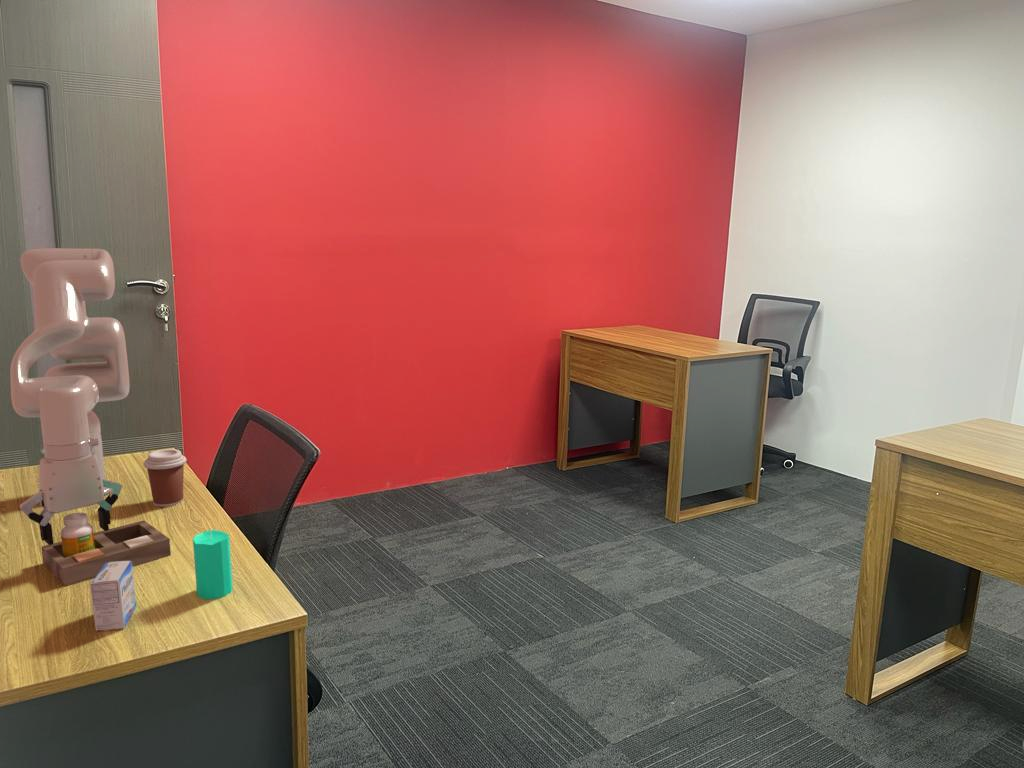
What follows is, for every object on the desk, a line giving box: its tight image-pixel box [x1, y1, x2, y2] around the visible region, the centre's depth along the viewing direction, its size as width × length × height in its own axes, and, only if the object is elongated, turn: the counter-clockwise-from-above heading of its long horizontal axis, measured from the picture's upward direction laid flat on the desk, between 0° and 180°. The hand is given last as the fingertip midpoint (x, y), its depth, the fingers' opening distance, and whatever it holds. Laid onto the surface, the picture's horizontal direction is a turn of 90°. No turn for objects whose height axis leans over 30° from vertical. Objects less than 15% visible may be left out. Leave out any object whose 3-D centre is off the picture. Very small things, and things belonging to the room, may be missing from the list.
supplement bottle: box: [60, 512, 95, 558], centre depth 147 cm, size 5×5×10 cm
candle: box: [192, 528, 234, 600], centre depth 137 cm, size 6×6×12 cm
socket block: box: [41, 520, 172, 587], centre depth 149 cm, size 13×19×4 cm
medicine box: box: [89, 561, 137, 632], centre depth 127 cm, size 8×4×9 cm, turn 12°
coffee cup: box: [143, 448, 187, 508], centre depth 179 cm, size 9×9×12 cm
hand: (77, 535), depth 146 cm, fingers open, 9 cm apart
